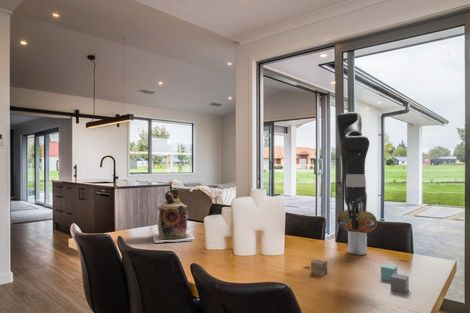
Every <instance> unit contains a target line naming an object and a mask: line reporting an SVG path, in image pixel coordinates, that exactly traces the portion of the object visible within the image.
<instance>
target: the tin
mask: <svg viewBox="0 0 470 313" xmlns="http://www.w3.org/2000/svg"><path fill="white" fill-rule="evenodd" d="M356 212H357V211H356ZM353 216H354V214H353ZM337 224H338V226H339V228H340V229H342V231H346V232H348V231H351V232H361V233H367V234H370V233H372V232H373V231H375V229H376V228H377V225H378V219H377V217H376V216H375V215H374V214H373V213H372V212H370V211H367V210H366V211H360V213H359V214H358V229H352V219H350V218H349V212H348V209H347V210H346V209H345V210H343V211H340V213H339V214H338V216H337Z"/></svg>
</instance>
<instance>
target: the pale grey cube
mask: <svg viewBox="0 0 470 313" xmlns="http://www.w3.org/2000/svg"><path fill="white" fill-rule="evenodd" d="M409 278H410V277H409V276H408V275H405V274H399V273H397V274H393V275H392V276H391V281H390V291H391V292H396V293H400V294H404V295H405V294H407V293H408V292H409V290H410V289H409V288H410V286H409V285H410V282H409Z"/></svg>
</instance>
